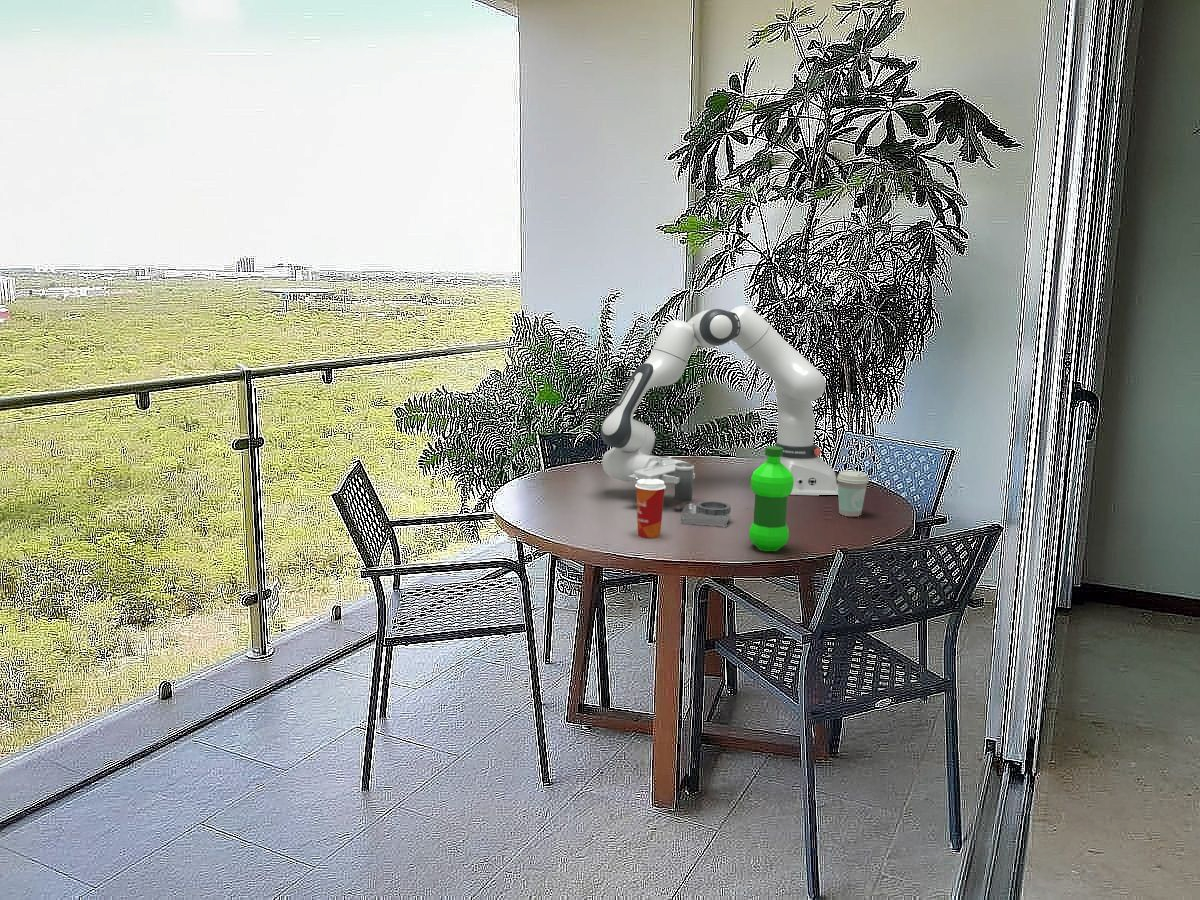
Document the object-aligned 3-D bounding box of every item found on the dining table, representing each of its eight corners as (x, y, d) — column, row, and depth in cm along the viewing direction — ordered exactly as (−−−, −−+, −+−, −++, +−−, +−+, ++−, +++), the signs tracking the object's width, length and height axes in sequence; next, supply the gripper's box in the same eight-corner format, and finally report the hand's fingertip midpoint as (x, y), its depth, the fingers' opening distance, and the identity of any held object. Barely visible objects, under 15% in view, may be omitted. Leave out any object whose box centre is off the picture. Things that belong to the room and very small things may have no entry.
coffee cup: (848, 520, 253) (852, 477, 251) (827, 513, 261) (830, 471, 258) (872, 517, 257) (875, 475, 255) (851, 510, 265) (854, 469, 262)
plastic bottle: (795, 554, 222) (801, 452, 217) (751, 554, 221) (757, 451, 216) (783, 542, 232) (789, 444, 227) (742, 542, 231) (747, 443, 226)
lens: (693, 497, 261) (694, 463, 259) (691, 502, 256) (692, 466, 254) (675, 496, 263) (676, 461, 261) (672, 500, 258) (673, 465, 256)
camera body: (731, 518, 252) (732, 502, 252) (727, 527, 244) (728, 510, 243) (685, 514, 255) (686, 499, 254) (680, 523, 247) (681, 507, 246)
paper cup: (632, 530, 239) (633, 477, 236) (661, 530, 239) (663, 477, 237) (635, 539, 231) (637, 485, 228) (666, 539, 232) (668, 485, 229)
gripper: (624, 465, 259) (662, 473, 250) (671, 455, 274) (708, 462, 264) (624, 487, 260) (662, 496, 251) (670, 475, 275) (708, 483, 265)
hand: (686, 478), depth 258 cm, fingers closed on lens, 5 cm apart
